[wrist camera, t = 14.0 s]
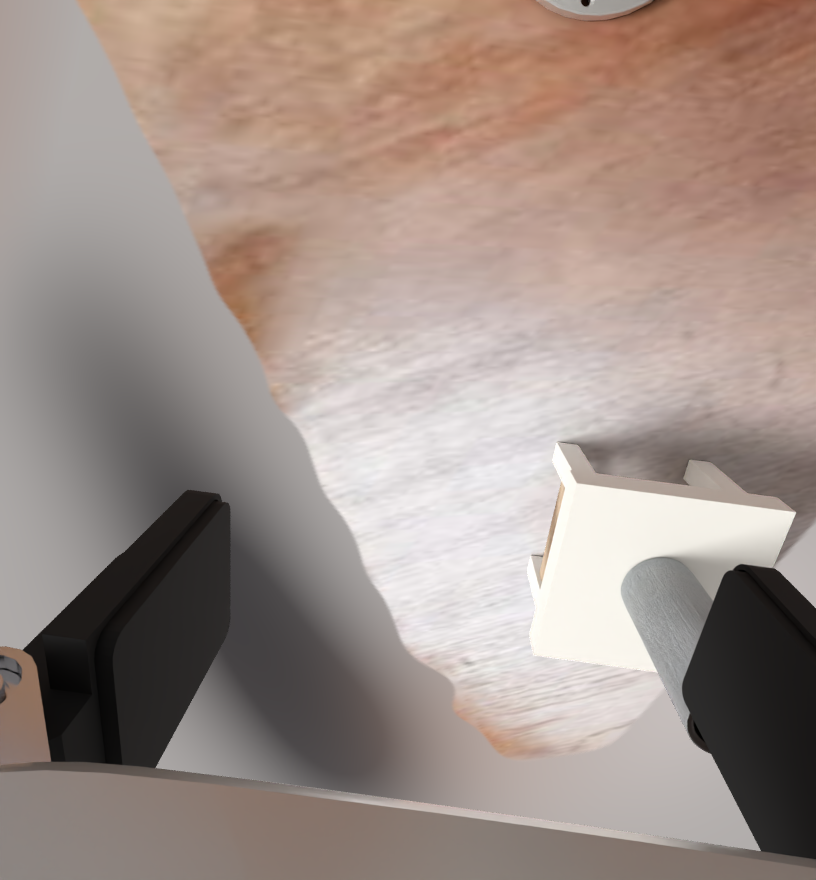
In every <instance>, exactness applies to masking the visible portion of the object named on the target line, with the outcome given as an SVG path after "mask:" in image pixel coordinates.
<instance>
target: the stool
mask: <svg viewBox="0 0 816 880" xmlns="http://www.w3.org/2000/svg"><path fill="white" fill-rule="evenodd" d="M552 462H553V464H554V466H555V468H556V470H557V472H558V474H559V477H560V479H561V485H560V489H559V493H558V498H557V502H556V506H555V510H554V514H553V518H552V522H551V527H550V531H549V535H548V539H547V543H546V547H545V552H544V556H543V557H540V556H533V555H530V560H529V564H528V568H527V575H528V579H529V583H530V587H531V591H532V595H533V599H534V603H535V607H536V609H535V613H534V617H533V621H532V625H531V629H530V634H529V637H530V642H531V646H532V651H533V655H534V656H541V657H548V658H556V659H563V660H570V661H578V662H585V663H592V664H599V665H607V666H614V667H621V668H629V669H636V670H643V671H650V672H657V670H656V668H655V666H654V664H653V662H652V660H651V658H650V656H649V654H648V652H647V650H646V648H645V646H644V643H643V641H642V639H641V637H640V635H639V633H638V631H637V629H636V627H635V625H634V623H633V621H632V619H631V617H630V615H629V613H628V611H627V609H626V607H625V604H624V602H623V599H622V596H621V585H622V582H623V579H624V578H625V576H626V574H627V573H628V572H629V571H630V570H631V569H632V568H633V567H634V566H636V565H637V564H639V563H641V562H643V561H645V560H648V559H652V558H671V559H674V560H677V561H679V562H681V563H683V564H684V565H685V566H687V567H688V569H689V570H690V571H691V572H692V573H693V574H694V576H695V577H696V578H697V580H698V581H699V583H700V584H701V585H702V587H703V588H704V589H705V591H706V592H707V593H708V595H709V596H710V597H711V599H712V600H713V601H714V598H715V596H716V593H717V591H718V588H719V585H720V583H721V580H722V578H723V576H724V574H725V573H726V572H727V571H729V570H733V569H734V568H735V567H736V566H737V565H740V564H746V565H753V566H761V567H768V568H773V566H774V564H775V562H776V559H777V557H778V555H779V552H780V550H781V547H782V545H783V543H784V540H785V538H786V536H787V533H788V531H789V528H790V526H791V524H792V521H793V519H794V517H795V514H796V512H795V511H794V510H793V509H791V508H790V507H789V506H788V505H786V504H785V503H784V502H782V501H781V500H780V499H779V498H777V497H772V496H765V495H757V494H749V493H746V492H745V491H744V490H743V489H742V488H741V487H739V486H738V485H737V484H736V483H735V482H734V481H732V480H731V479H730V478H729V477H728V476H726V475H725V474H724V473H723V472H722V471H721V470H719V469H718V468H717V467H716V466H715V465H714V464H712V463H711V462H705V461H698V460H690V459H689V463H688V466H687V469H686V472H685V475H684V478H683V479H684V480H685V481H686V482H687V483H688V484H689V485H690V486H689V485H681V484H674V483H666V482H659V481H651V480H643V479H636V478H628V477H621V476H613V475H606V474H598V473H596V472H595V471H594V469H593V468H592V466H591V464H590V463H589V461H588V460H587V458H586V457H585V455H584V454H583V452H582V450H581V449H580V447H579V446H578V445H576V444H568V443H561V442H557V443H556V447H555V452H554V456H553V460H552Z"/></svg>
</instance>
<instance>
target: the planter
mask: <svg viewBox="0 0 816 880" xmlns="http://www.w3.org/2000/svg"><path fill="white" fill-rule="evenodd" d="M621 596H622V599H623V602H624V604H625V607H626V609H627V611H628V613H629V615H630V617H631V619H632V621H633V623H634V625H635V627H636V629H637V631H638V633H639V635H640V637H641V639H642V641H643V643H644V646H645V648H646V650H647V652H648V654H649V656H650V658H651V660H652V662H653V664H654V666H655V668H656V670H657V672H658V674H659V676H660V678H661V680H662V682H663V684H664V686H665V688H666V690H667V692H668V695H669V697H670V698H671V701H672V703H673V705H674V707H675V709H676V711H677V713H678V715H679V717H680V719H681V721H682V723H683V725H684V727H685V729H686V731H687V733H688V735H689V737H690V739H691V740H692V741H693V743H695V744H696V745H697V746H698V747H699V748H701V749H702V750H704V751H706V752H708V753H710V751H709V749H708V747H707V745H706V743H705V741H704V739H703V737H702V735H701V733H700V731H699V729H698V727H697V725H696V723H695V722H694V720H693V718H692V716H691V714H690V712H689V710H688V708H687V706H686V704H685V702H684V699H683V695H682V683H683V679H684V676H685V674H686V671H687V669H688V666H689V663H690V661H691V658H692V656H693V653H694V650H695V648H696V645H697V643H698V640H699V637H700V635H701V632H702V630H703V627H704V624H705V622H706V619H707V617H708V614H709V611H710V609H711V606H712V604H713V600H712V599H711V597H710V596H709V595H708V593H707V592H706V591H705V589H704V588H703V587H702V585H701V584H700V583H699V581H698V580H697V578H696V577H695V576H694V574H693V573H692V572H691V571H690V570H689V569H688V567H687V566H685V565H684V564H683V563H681V562H679V561H677V560H674V559H671V558H652V559H648V560H645V561H643V562H641V563H639V564H637V565H636V566H634V567H633V568H632V569H631V570H630V571H629V572H628V573H627V574H626V576H625V578H624V579H623V582H622V585H621ZM710 754H711V753H710Z"/></svg>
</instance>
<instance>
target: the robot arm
mask: <svg viewBox="0 0 816 880" xmlns="http://www.w3.org/2000/svg"><path fill="white" fill-rule="evenodd" d="M536 1H537V2H538V3H540V4H541V5H542V6H544V7H545V8H546V9H548V10H550V11H553V12H555V13H557V14H560V15H562V16H564V17H567V18H573V19H579V20H584V21H593V20H608V19H612V18H616V17H619V16H623V15H627V14H630V13H632V12H634V11H636V10H638V9H640V8H642V7H644V6H645V5H647V4H649V3H651V2H652V1H653V0H588V2H589V5H588V6H587V7H585V6H583V5H582V3H581V0H536ZM229 624H230V506H229V504H228V503H226V502H222V500H221V497H220V495H219V494H216V493H208V492H201V491H194V490H187V491H186V492H184V493H183V494H182V495H181V496H180V497H179V498H178V499H177V500H176V501H175V502H174V503H173V504H172V505H171V506H170V507H169V508H168V509H167V510H166V511H165V512H164V513H163V514H162V515H161V516H160V517H159V518H158V519H157V520H156V521H155V522H154V523H153V524H152V525H151V526H150V527H149V528H148V529H147V530H146V531H145V532H144V533H143V534H142V535H141V536H140V537H139V538H138V539H137V540H136V541H135V542H134V543H133V544H132V545H131V546H130V547H129V548H128V549H127V550H126V551H125V552H124V553H122V554H121V555H119V556H118V557H117V558H115V559H114V560H113V561H112V562H111V564H109V565H108V566H107V568H105V569H104V570H103V571H102V572H101V573H100V574H99V575H98V576H97V577H96V578H95V579H94V580H93V581H92V582H91V583H90V584H89V585H88V586H87V587H86V588H85V589H84V590H83V591H82V592H81V593H80V594H79V595H78V596H77V597H76V598H75V599H74V600H73V601H72V602H71V603H70V604H69V605H68V606H67V607H66V608H65V609H64V610H63V611H62V612H61V613H60V614H59V615H58V616H57V617H56V618H55V619H54V620H53V621H52V622H51V623H50V624H49V625H48V626H46V628H44V629H43V630H42V631H41V632H40V633H39V634H38V635H37V636H36V637H35V638H34V639H33V640H32V641H31V642H30V643H29V644H28V645H27V646H26V647H25V648H24V649H23V650H20V649H15V648H10V647H6V646H5V647H0V880H816V608H815V607H814V606H813V605H812V604H811V603H810V602H809V601H808V600H807V599H806V598H805V597H804V596H803V595H802V594H801V593H800V592H799V591H798V590H797V589H796V588H795V587H794V586H793V585H792V584H791V583H790V582H789V581H788V580H787V579H786V578H785V577H784V576H783V575H782V574H781V573H780V572H779V571H777V570H776V569H774V568H768V567H761V566H753V565H746V564H740V565H737V566H736V567H735V568H734V569H733V570H729V571H727V572H726V573H725V574H724V576H723V578H722V580H721V583H720V585H719V588H718V591H717V593H716V596H715V598H714V601H713V604H712V606H711V609H710V611H709V614H708V617H707V619H706V622H705V624H704V627H703V630H702V632H701V635H700V637H699V640H698V643H697V645H696V648H695V650H694V653H693V656H692V658H691V661H690V663H689V666H688V669H687V671H686V674H685V676H684V679H683V683H682V695H683V699H684V702H685V704H686V706H687V708H688V710H689V712H690V714H691V716H692V718H693V720H694V722H695V723H696V725H697V727H698V729H699V731H700V733H701V735H702V737H703V739H704V741H705V743H706V745H707V747H708V749H709V751H710V753H711V754H712V756H713V758H714V760H715V762H716V764H717V766H718V768H719V770H720V772H721V774H722V776H723V778H724V780H725V782H726V784H727V786H728V787H729V789H730V791H731V793H732V795H733V797H734V799H735V801H736V803H737V805H738V807H739V809H740V811H741V813H742V815H743V816H744V818H745V820H746V822H747V824H748V826H749V828H750V830H751V832H752V834H753V836H754V838H755V840H756V841H757V844H758V846H759V848H760V850H761V851H755V850H748V849H742V848H735V847H727V846H722V845H714V844H708V843H701V842H694V841H688V840H681V839H674V838H668V837H661V836H654V835H647V834H640V833H633V832H626V831H619V830H612V829H605V828H598V827H591V826H584V825H577V824H570V823H563V822H556V821H549V820H542V819H535V818H528V817H521V816H513V815H507V814H500V813H493V812H485V811H478V810H471V809H464V808H457V807H449V806H443V805H436V804H428V803H421V802H414V801H406V800H399V799H392V798H384V797H377V796H369V795H362V794H355V793H347V792H340V791H333V790H325V789H318V788H310V787H303V786H295V785H288V784H281V783H273V782H266V781H259V780H250V779H242V778H234V777H226V776H217V775H209V774H200V773H192V772H184V771H175V770H166V769H157V768H156V766H157V764H158V762H159V760H160V758H161V756H162V755H163V753H164V751H165V749H166V747H167V745H168V743H169V742H170V739H171V738H172V736H173V734H174V732H175V731H176V729H177V727H178V725H179V723H180V721H181V719H182V718H183V716H184V714H185V712H186V710H187V708H188V706H189V705H190V703H191V701H192V699H193V697H194V695H195V693H196V691H197V690H198V688H199V686H200V684H201V682H202V681H203V679H204V677H205V675H206V673H207V671H208V669H209V668H210V666H211V664H212V662H213V660H214V658H215V657H216V655H217V653H218V651H219V649H220V647H221V645H222V643H223V642H224V640H225V638H226V635H227V632H228V629H229Z"/></svg>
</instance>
